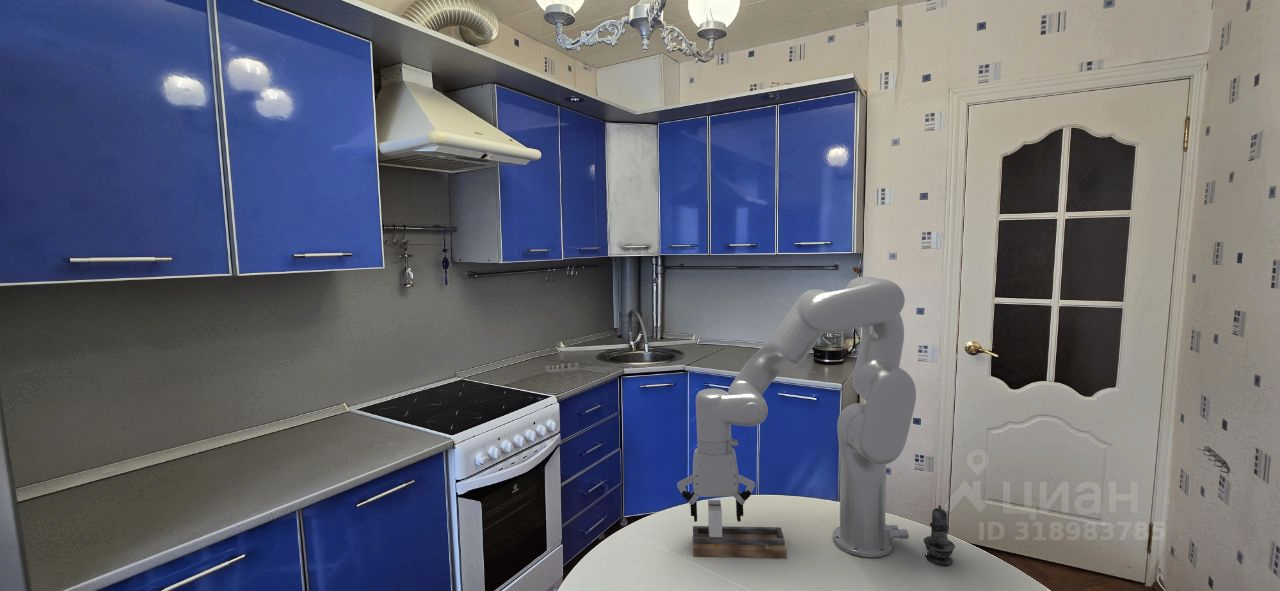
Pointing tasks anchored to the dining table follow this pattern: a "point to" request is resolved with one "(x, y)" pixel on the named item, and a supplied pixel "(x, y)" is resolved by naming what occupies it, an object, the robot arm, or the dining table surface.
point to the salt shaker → (939, 540)
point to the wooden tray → (740, 542)
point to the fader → (715, 518)
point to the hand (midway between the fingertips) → (717, 518)
